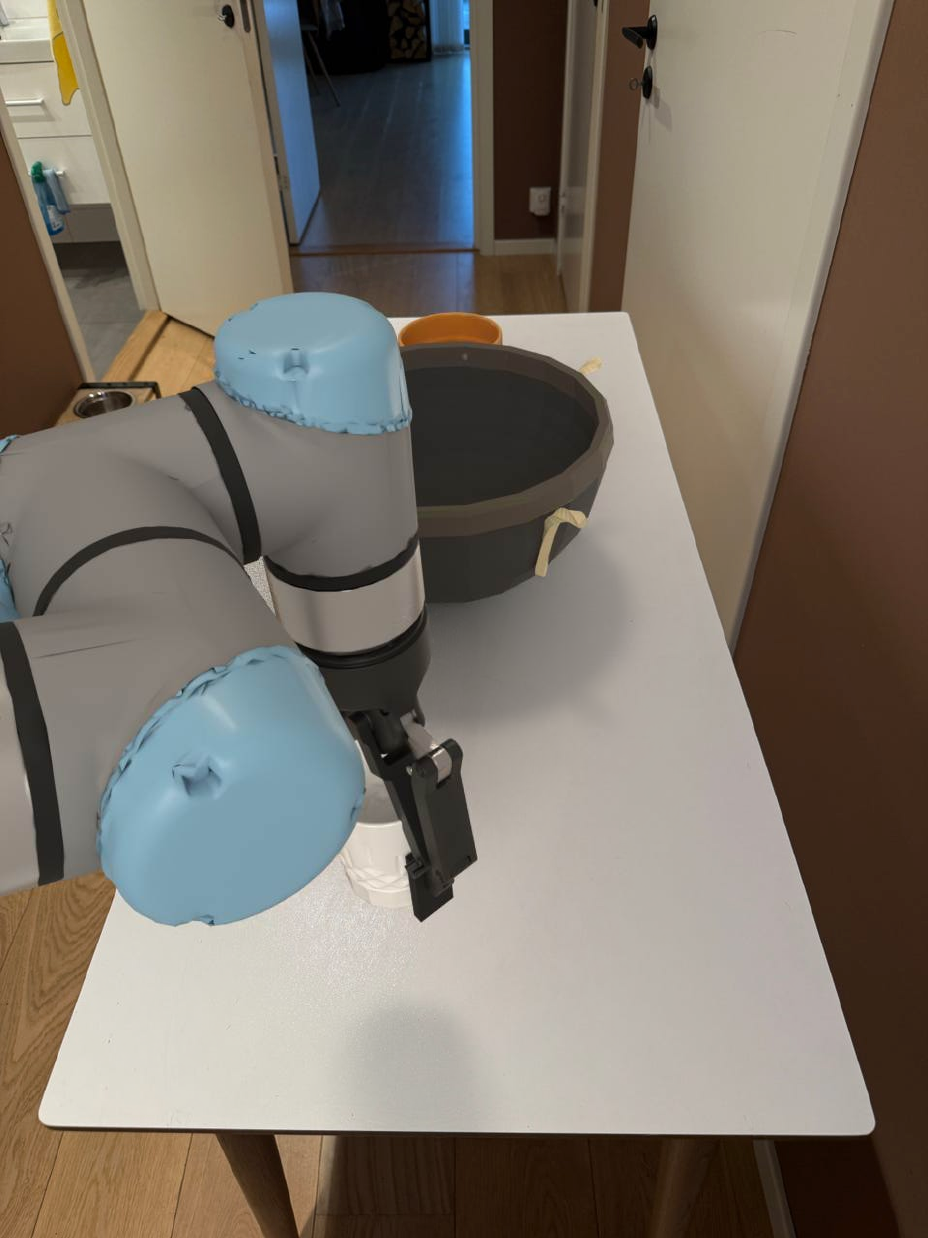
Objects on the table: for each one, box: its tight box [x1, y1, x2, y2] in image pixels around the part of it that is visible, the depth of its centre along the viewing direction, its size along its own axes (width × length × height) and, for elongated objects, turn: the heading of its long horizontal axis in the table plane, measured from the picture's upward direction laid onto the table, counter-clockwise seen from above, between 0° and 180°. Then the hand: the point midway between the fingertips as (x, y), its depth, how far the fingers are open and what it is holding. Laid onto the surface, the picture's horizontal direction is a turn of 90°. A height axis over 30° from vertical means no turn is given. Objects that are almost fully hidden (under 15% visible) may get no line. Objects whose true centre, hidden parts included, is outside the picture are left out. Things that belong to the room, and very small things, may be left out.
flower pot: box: [397, 311, 504, 347], centre depth 129 cm, size 14×14×13 cm
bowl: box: [399, 341, 615, 605], centre depth 101 cm, size 35×35×20 cm
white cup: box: [337, 740, 413, 911], centre depth 59 cm, size 8×8×10 cm
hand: (395, 864), depth 62 cm, fingers closed on white cup, 8 cm apart
